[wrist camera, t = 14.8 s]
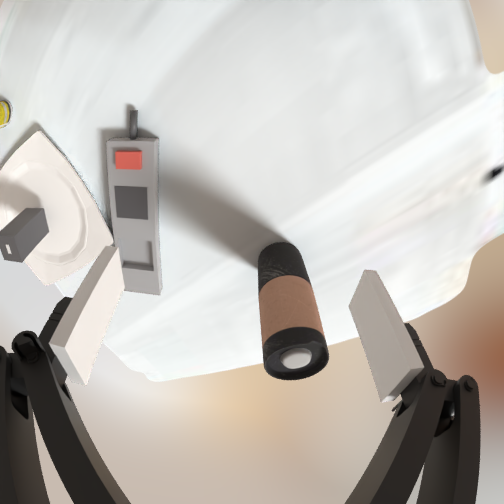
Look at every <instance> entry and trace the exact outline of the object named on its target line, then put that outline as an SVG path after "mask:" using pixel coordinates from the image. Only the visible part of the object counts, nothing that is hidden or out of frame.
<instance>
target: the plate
mask: <svg viewBox="0 0 504 504" xmlns="http://www.w3.org/2000/svg"><path fill="white" fill-rule="evenodd" d="M25 208H44V211H45V215H46V220H47V224H48V228H49V233H48V234H47V235H46V236H45V237H44V238H43V239H42V240H41V241H40V243H39V244H38V245H37V246H36V247H35V248H34V249H33V250H32V252H31V253H30V254H29V255H28V256H27V257H26V259H25V260H24V261H25V263H26V264H27V265H28V266H29V267H30V269H31V270H32V271H33V272H34V274H35V275H36V276H37V277H38V278H39V279H40V281H41V282H42V283H43V284H44V285H45V286H48V285H50V284H52V283H54V282H57V281H59V280H61V279H63V278H65V277H67V276H69V275H71V274H73V273H74V272H76V271H78V270H80V269H81V268H83V267H84V266H85V265H87V264H88V263H90V262H91V261H93V260H94V259H95V258H96V257H97V256H98V255H100V253H101V252H102V250H103V249H104V247H105V246H110V245H111V244H113V243H114V238H113V236H112V234H111V232H110V230H109V228H108V226H107V224H106V222H105V220H104V218H103V216H102V214H101V212H100V210H99V208H98V206H97V204H96V202H95V200H94V199H93V197H92V196H91V194H90V193H89V191H88V189H87V188H86V186H85V185H84V183H83V181H82V180H81V178H80V177H79V176H78V174H77V173H76V171H75V170H74V169H73V167H72V166H71V164H70V163H69V162H68V160H67V159H66V158H65V157H64V156H63V155H62V154H61V152H60V151H59V150H58V149H57V148H56V147H55V146H54V145H53V144H52V143H51V141H50V140H49V139H48V138H47V137H46V136H45V135H44V134H43V132H42V131H37V132H36V133H34V134H33V135H32V136H31V137H30V138H29V139H28V140H27V141H26V142H24V143H23V144H22V145H21V146H20V147H19V148H18V149H17V150H16V151H15V152H14V154H13V155H12V156H11V157H10V158H9V160H8V161H7V162H6V163H5V165H4V166H3V168H2V169H1V171H0V229H1V230H2V229H3V228H4V227H5V226H6V225H7V224H8V223H9V222H11V221H12V220H13V219H14V218H15V217H16V216H17V215H18V214H20V213H21V212H22V211H23V210H24V209H25Z"/></svg>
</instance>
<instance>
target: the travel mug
mask: <svg viewBox="0 0 504 504" xmlns="http://www.w3.org/2000/svg"><path fill="white" fill-rule="evenodd" d="M258 290H259V309H260V322H261V335H262V348H263V362H264V368H265V370H266V372H267V373H268V374H269V375H271V376H272V377H275V378H277V379H282V380H299V379H304V378H307V377H310V376H312V375H314V374H316V373H318V372H319V371H321V370H322V369H323V368H324V367H325V366H326V365H327V363H328V360H329V353H328V348H327V344H326V340H325V336H324V332H323V328H322V324H321V320H320V316H319V312H318V308H317V304H316V300H315V296H314V292H313V289H312V286H311V283H310V280H309V277H308V274H307V271H306V268H305V265H304V262H303V259H302V256H301V254H300V252H299V250H298V249H297V248H296V247H295V246H293V245H291V244H288V243H281V242H280V243H274V244H271V245H269V246H268V247H266V248H265V249H264V250H263V251H262V252H261V254H260V256H259V259H258Z"/></svg>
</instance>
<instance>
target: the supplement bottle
mask: <svg viewBox="0 0 504 504" xmlns="http://www.w3.org/2000/svg"><path fill="white" fill-rule="evenodd" d="M12 115H13V109H12V105H11V104H10V102H9V101H7V100H3V101H0V128H2V127H5V126H7V125H8V124H9V123H10V121H11V119H12Z"/></svg>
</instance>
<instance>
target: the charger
mask: <svg viewBox="0 0 504 504" xmlns="http://www.w3.org/2000/svg"><path fill="white" fill-rule="evenodd" d="M48 233H49V228H48V224H47V220H46V215H45V211H44V208H25V209H24V210H23V211H22V212H21V213H20V214H18V215H17V216H16V217H15V218H14V219H13V220H12V221H11V222H9V223H8V224H7V225H6V226H5V227H4V228H3V229H2V230H1V231H0V249H1V252H2V255H3V257H4V260H8V261H16V262H23V261H24V260H25V259H26V257H27V256H28V255H29V254H30V253H31V252H32V250H33V249H34V248H35V247H36V246H37V245H38V244H39V243H40V241H41V240H42V239H43V238H44V237H45V236H46V235H47V234H48Z"/></svg>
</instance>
